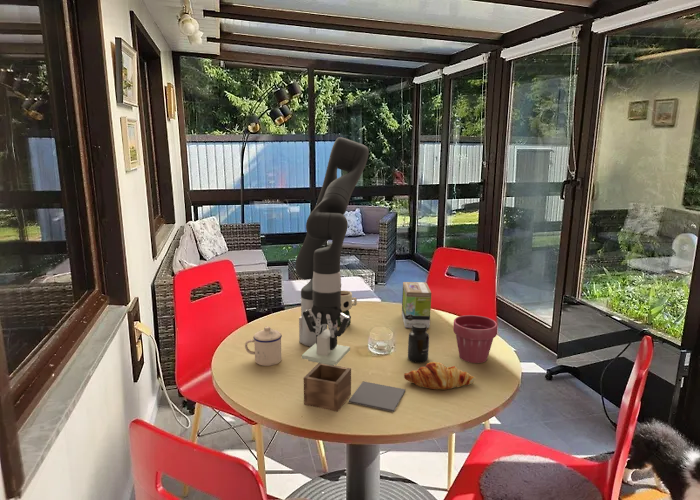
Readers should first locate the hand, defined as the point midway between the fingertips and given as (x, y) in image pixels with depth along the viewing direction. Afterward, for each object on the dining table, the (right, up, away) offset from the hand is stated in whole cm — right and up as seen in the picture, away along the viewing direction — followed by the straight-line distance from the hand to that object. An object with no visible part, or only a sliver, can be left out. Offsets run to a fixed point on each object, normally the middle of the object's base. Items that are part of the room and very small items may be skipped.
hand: (326, 347), depth 131 cm
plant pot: (+48, -10, +31) cm, 58 cm away
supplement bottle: (+29, -10, +29) cm, 42 cm away
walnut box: (0, -15, +3) cm, 16 cm away
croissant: (+33, -14, +13) cm, 38 cm away
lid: (0, -3, +1) cm, 3 cm away
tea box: (+33, -2, +63) cm, 71 cm away
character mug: (+4, -3, +60) cm, 60 cm away
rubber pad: (+14, -15, +5) cm, 21 cm away
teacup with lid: (-22, -10, +27) cm, 36 cm away
